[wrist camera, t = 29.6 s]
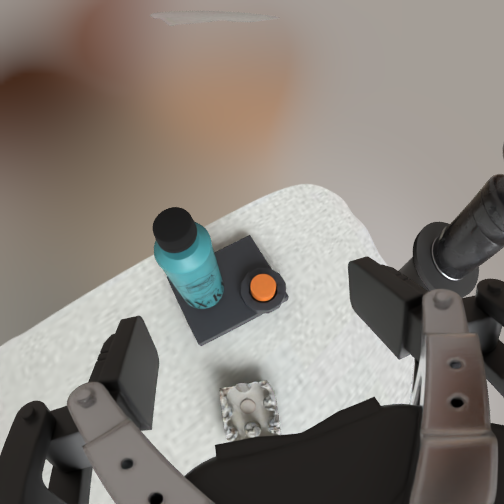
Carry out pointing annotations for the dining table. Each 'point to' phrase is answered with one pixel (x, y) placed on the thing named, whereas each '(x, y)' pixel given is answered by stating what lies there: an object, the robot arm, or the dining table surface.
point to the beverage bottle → (187, 258)
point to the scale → (234, 293)
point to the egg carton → (249, 411)
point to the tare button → (263, 287)
